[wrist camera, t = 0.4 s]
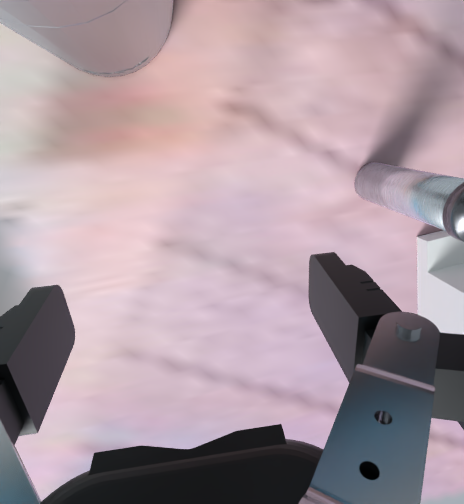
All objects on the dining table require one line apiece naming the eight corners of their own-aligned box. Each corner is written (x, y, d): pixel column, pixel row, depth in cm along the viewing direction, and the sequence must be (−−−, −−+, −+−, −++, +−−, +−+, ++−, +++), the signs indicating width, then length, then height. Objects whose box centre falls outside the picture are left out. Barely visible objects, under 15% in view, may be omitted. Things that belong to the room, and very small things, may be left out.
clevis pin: (350, 164, 31) (456, 188, 19) (391, 155, 31) (517, 174, 20) (353, 206, 32) (454, 251, 21) (392, 197, 32) (512, 237, 21)
